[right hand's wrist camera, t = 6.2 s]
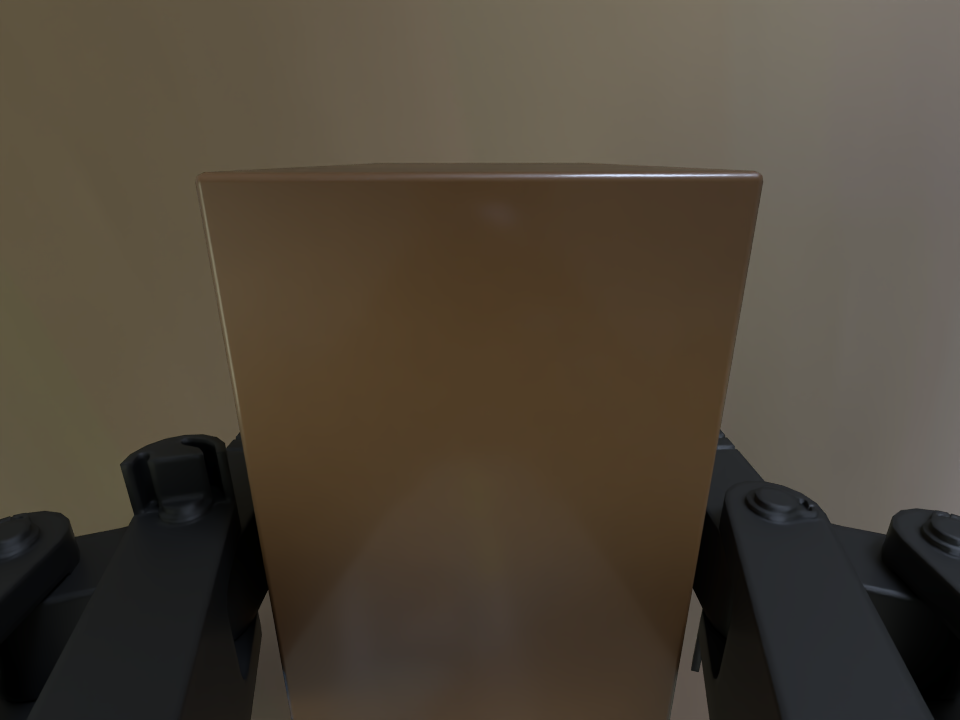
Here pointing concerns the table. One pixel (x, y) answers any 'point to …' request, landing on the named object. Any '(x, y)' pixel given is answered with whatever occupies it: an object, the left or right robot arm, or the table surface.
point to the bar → (479, 424)
